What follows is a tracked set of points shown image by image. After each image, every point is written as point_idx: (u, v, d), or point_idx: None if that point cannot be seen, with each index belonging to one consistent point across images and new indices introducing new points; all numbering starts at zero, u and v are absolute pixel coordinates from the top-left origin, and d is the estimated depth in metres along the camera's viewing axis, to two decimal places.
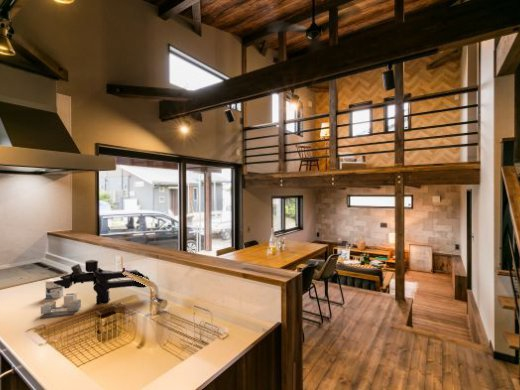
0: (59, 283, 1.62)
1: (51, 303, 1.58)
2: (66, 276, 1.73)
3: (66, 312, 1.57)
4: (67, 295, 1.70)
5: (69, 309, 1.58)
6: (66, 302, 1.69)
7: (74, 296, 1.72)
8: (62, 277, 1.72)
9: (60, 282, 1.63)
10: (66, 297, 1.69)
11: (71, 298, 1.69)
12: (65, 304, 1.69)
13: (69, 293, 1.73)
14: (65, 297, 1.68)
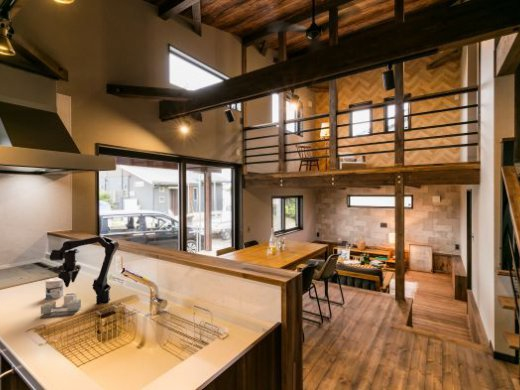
0: (68, 282, 1.66)
1: (51, 303, 1.58)
2: (72, 277, 1.76)
3: (66, 312, 1.57)
4: (67, 295, 1.70)
5: (69, 309, 1.58)
6: (66, 302, 1.69)
7: (74, 296, 1.72)
8: (72, 280, 1.76)
9: (66, 281, 1.66)
10: (66, 297, 1.69)
11: (71, 298, 1.69)
12: (65, 304, 1.69)
13: (69, 293, 1.73)
14: (65, 297, 1.68)
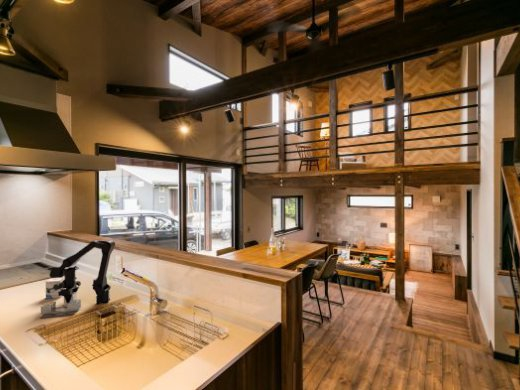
0: (69, 298, 1.68)
1: (51, 303, 1.58)
2: None
3: (66, 312, 1.57)
4: None
5: (69, 309, 1.58)
6: (66, 302, 1.69)
7: (74, 296, 1.72)
8: None
9: (67, 297, 1.68)
10: None
11: (71, 298, 1.69)
12: (65, 304, 1.69)
13: None
14: None
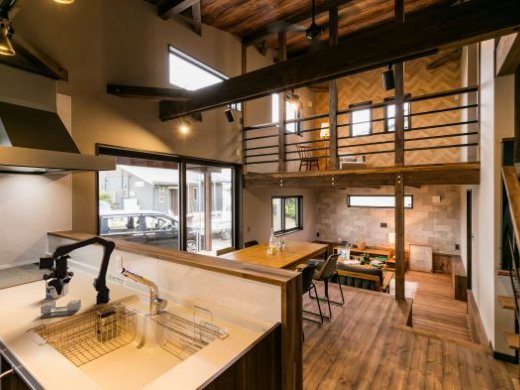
0: (60, 289, 1.56)
1: (51, 303, 1.58)
2: None
3: (66, 312, 1.57)
4: None
5: (69, 309, 1.58)
6: None
7: (65, 287, 1.60)
8: None
9: (58, 288, 1.56)
10: None
11: (62, 289, 1.58)
12: (56, 295, 1.57)
13: None
14: None
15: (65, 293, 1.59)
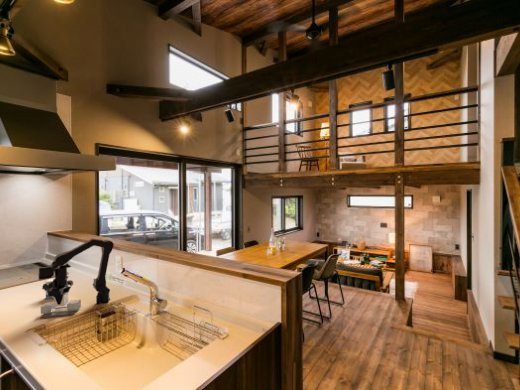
0: (60, 299, 1.55)
1: (51, 303, 1.58)
2: None
3: (66, 312, 1.57)
4: None
5: (69, 309, 1.58)
6: (56, 303, 1.56)
7: (65, 296, 1.59)
8: None
9: (58, 298, 1.55)
10: None
11: (62, 298, 1.57)
12: (55, 305, 1.56)
13: None
14: None
15: (64, 302, 1.58)
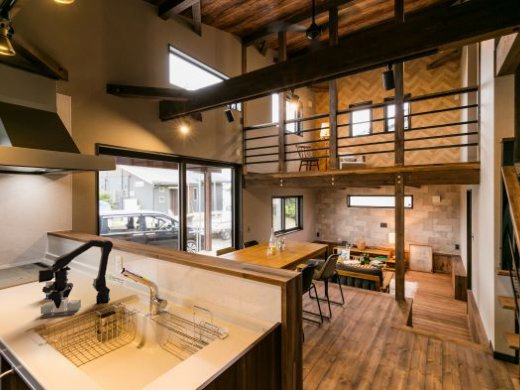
0: (58, 303, 1.54)
1: (51, 303, 1.58)
2: (64, 296, 1.64)
3: (66, 312, 1.57)
4: None
5: (69, 309, 1.58)
6: None
7: (65, 301, 1.59)
8: None
9: (57, 302, 1.54)
10: None
11: (62, 304, 1.57)
12: (55, 310, 1.56)
13: None
14: None
15: (64, 308, 1.58)
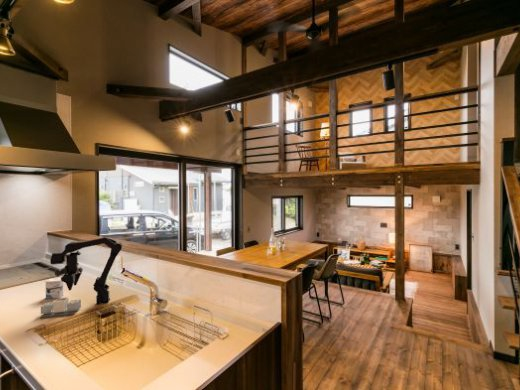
0: (71, 285, 1.63)
1: (51, 303, 1.58)
2: None
3: (66, 312, 1.57)
4: (58, 300, 1.57)
5: (69, 309, 1.58)
6: (57, 308, 1.56)
7: (65, 301, 1.59)
8: (75, 283, 1.72)
9: (69, 284, 1.62)
10: (56, 302, 1.56)
11: (62, 304, 1.57)
12: (55, 310, 1.56)
13: (60, 298, 1.60)
14: (55, 303, 1.56)
15: (64, 308, 1.58)
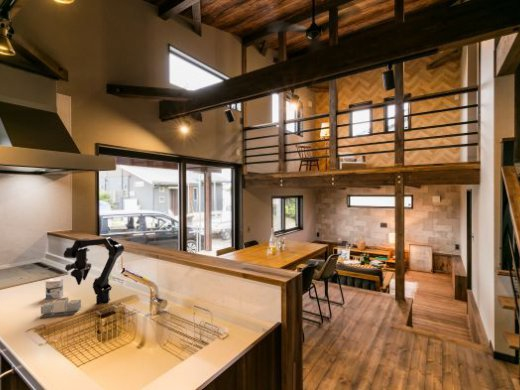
0: (80, 279, 1.71)
1: (51, 303, 1.58)
2: (83, 275, 1.80)
3: (66, 312, 1.57)
4: (58, 300, 1.57)
5: (69, 309, 1.58)
6: (57, 308, 1.56)
7: (65, 301, 1.59)
8: (84, 278, 1.80)
9: (78, 279, 1.70)
10: (56, 302, 1.56)
11: (62, 304, 1.57)
12: (55, 310, 1.56)
13: (60, 298, 1.60)
14: (55, 303, 1.56)
15: (64, 308, 1.58)
